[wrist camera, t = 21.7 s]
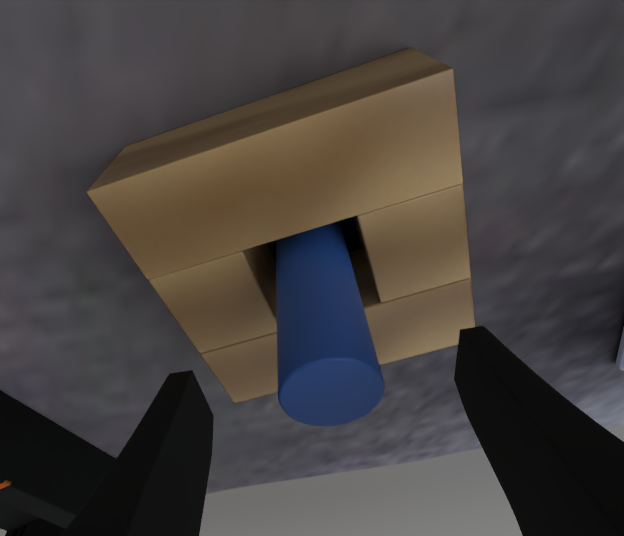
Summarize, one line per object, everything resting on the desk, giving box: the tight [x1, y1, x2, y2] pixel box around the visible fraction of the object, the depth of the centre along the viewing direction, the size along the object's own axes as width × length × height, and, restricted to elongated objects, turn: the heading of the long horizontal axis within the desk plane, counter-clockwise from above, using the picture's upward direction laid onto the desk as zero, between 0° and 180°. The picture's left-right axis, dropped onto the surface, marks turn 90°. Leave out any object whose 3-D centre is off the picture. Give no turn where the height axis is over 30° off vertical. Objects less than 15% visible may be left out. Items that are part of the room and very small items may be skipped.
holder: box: [87, 47, 475, 403], centre depth 16 cm, size 11×11×4 cm
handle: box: [276, 221, 384, 426], centre depth 14 cm, size 3×3×9 cm
